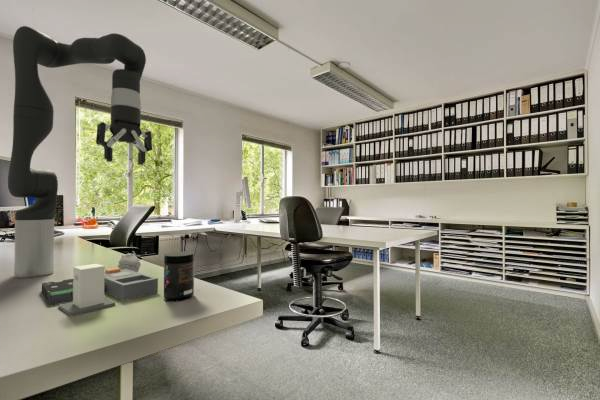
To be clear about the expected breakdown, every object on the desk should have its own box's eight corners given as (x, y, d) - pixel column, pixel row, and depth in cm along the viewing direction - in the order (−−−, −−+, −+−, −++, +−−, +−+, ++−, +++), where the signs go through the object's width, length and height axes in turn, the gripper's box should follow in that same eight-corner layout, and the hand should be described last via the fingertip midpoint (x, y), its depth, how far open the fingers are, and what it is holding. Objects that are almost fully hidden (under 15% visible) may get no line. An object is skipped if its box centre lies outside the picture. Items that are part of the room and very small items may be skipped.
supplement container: (178, 292, 75) (178, 250, 75) (200, 295, 73) (200, 252, 73) (156, 300, 69) (157, 255, 69) (179, 303, 66) (179, 257, 67)
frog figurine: (136, 273, 95) (136, 251, 96) (144, 276, 91) (144, 254, 91) (114, 276, 91) (115, 253, 91) (121, 280, 86) (121, 256, 86)
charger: (72, 304, 64) (73, 266, 64) (96, 298, 68) (96, 263, 68) (79, 308, 62) (80, 269, 62) (104, 302, 65) (104, 266, 65)
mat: (58, 307, 64) (58, 304, 64) (100, 298, 70) (100, 295, 70) (70, 316, 59) (70, 313, 59) (115, 305, 65) (115, 302, 65)
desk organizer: (85, 283, 83) (85, 268, 83) (117, 277, 89) (117, 263, 89) (123, 300, 68) (123, 281, 68) (157, 292, 75) (157, 275, 75)
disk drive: (40, 294, 75) (49, 307, 65) (40, 283, 75) (49, 294, 65) (89, 286, 83) (104, 296, 73) (89, 275, 83) (104, 285, 73)
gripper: (144, 115, 95) (144, 166, 95) (93, 103, 84) (92, 161, 83) (156, 111, 90) (156, 164, 90) (103, 98, 79) (103, 159, 79)
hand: (125, 163), depth 87 cm, fingers open, 8 cm apart
